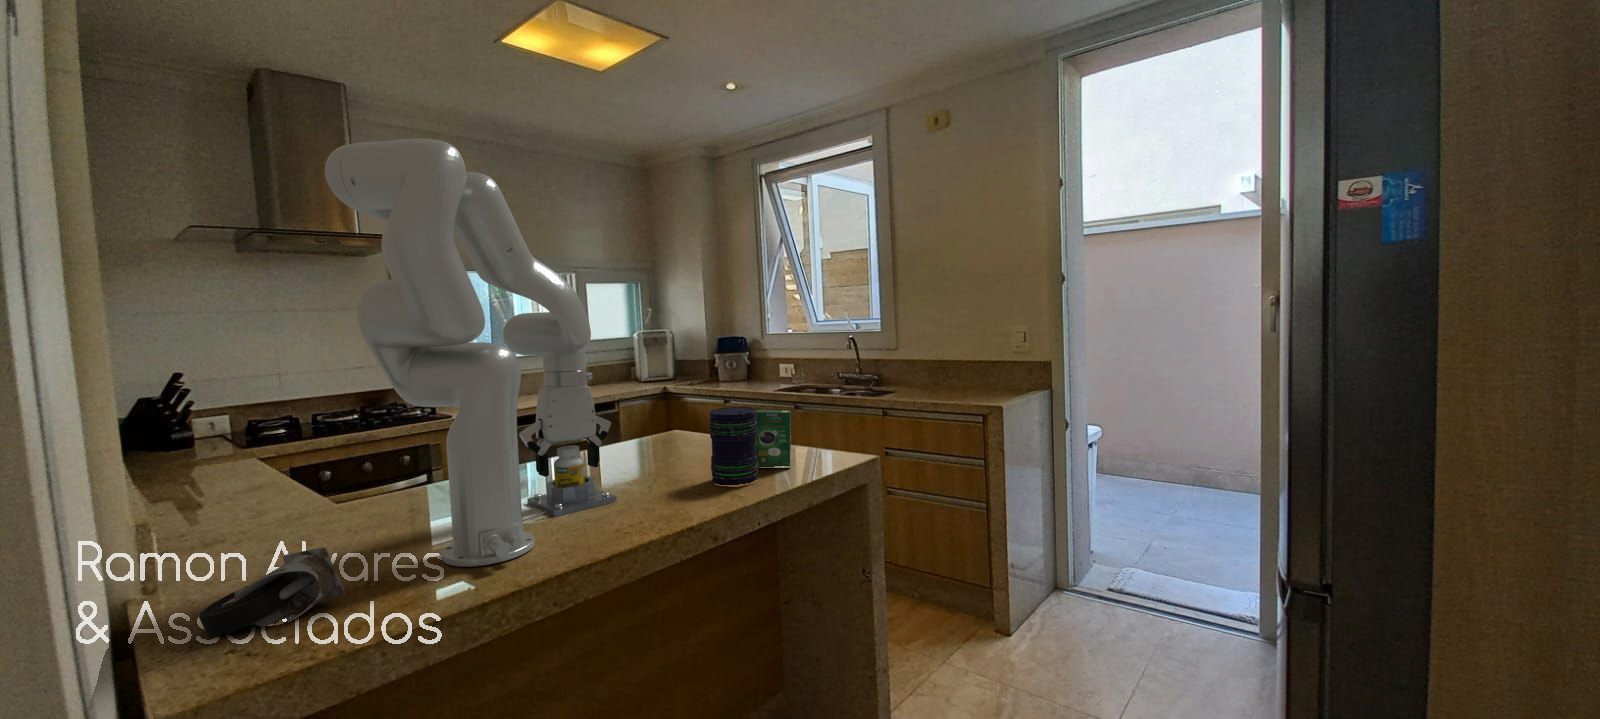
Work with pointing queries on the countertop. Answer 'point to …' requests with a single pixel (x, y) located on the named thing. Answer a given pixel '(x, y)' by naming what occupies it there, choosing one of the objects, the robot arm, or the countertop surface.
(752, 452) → the storage jar
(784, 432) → the coffee box
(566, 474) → the supplement bottle
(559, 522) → the countertop surface
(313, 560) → the caster wheel
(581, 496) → the pipe flange
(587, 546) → the countertop surface
